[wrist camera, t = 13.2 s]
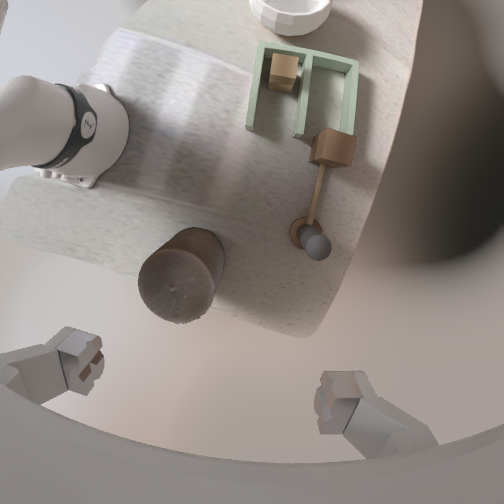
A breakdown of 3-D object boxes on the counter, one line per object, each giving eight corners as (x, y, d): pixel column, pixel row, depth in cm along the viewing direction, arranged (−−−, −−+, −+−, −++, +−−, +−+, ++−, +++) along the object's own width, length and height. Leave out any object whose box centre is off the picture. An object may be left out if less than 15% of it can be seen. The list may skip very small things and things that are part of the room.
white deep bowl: (234, 16, 37) (230, -14, 27) (285, -15, 35) (290, -46, 25) (287, 59, 39) (294, 32, 29) (336, 24, 37) (352, -3, 27)
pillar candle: (160, 235, 46) (122, 261, 32) (217, 220, 45) (199, 242, 31) (177, 289, 49) (149, 334, 34) (232, 278, 48) (223, 322, 33)
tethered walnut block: (286, 244, 46) (294, 263, 36) (310, 136, 42) (326, 124, 32) (316, 251, 46) (332, 270, 36) (341, 144, 42) (363, 136, 32)
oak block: (267, 89, 40) (269, 74, 33) (270, 70, 39) (273, 53, 33) (290, 92, 40) (296, 78, 34) (292, 73, 39) (298, 57, 33)
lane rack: (246, 130, 42) (245, 125, 38) (258, 51, 38) (258, 41, 35) (343, 146, 42) (351, 144, 38) (351, 69, 39) (359, 61, 35)
